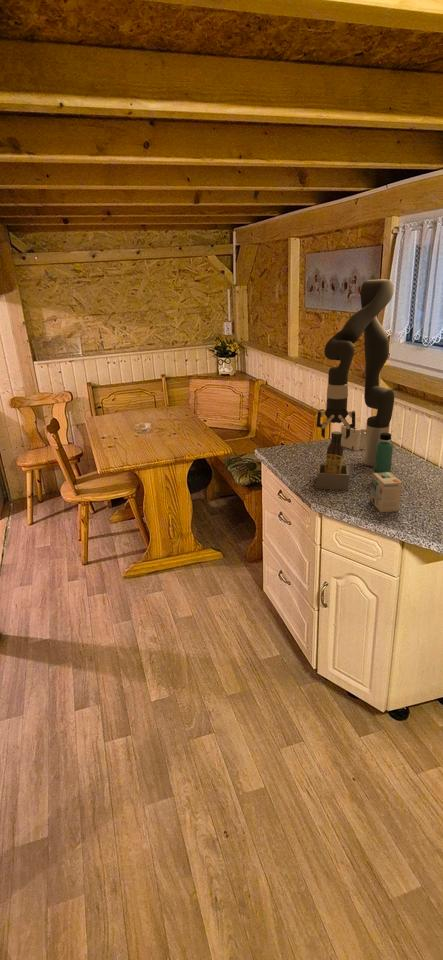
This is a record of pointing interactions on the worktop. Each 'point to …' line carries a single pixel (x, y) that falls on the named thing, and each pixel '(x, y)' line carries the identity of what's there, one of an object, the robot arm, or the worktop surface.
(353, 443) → the hinge
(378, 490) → the light bulb box
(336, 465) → the sauce bottle
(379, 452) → the beverage bottle
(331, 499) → the worktop surface
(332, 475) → the bottle holder
